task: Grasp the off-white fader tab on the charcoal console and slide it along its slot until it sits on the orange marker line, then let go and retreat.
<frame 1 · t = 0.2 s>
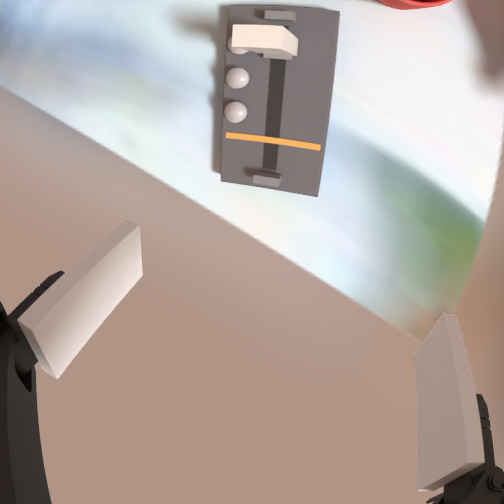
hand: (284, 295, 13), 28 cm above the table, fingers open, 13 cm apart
console: (279, 96, 33), on the table
fader tab: (269, 41, 24), point 7 cm above the table, slide at -6.0 cm
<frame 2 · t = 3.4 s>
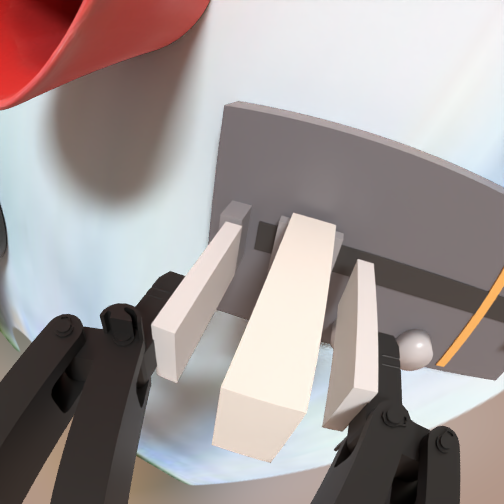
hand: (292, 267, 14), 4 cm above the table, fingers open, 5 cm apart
console: (410, 260, 16), on the table
fader tab: (286, 318, 12), point 7 cm above the table, slide at -6.0 cm
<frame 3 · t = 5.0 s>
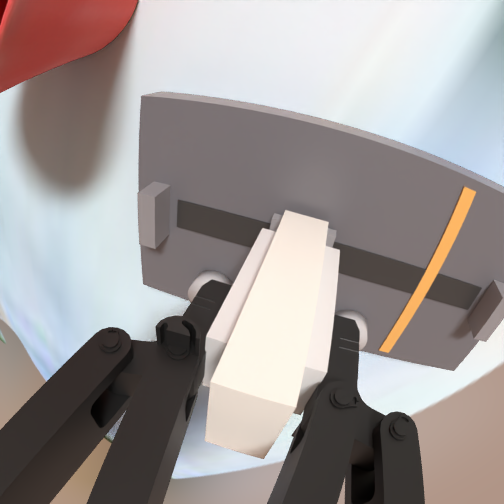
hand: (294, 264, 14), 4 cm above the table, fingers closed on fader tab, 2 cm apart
flower pot: (94, 1, 13), on the table
console: (338, 237, 17), on the table
fader tab: (278, 314, 12), point 7 cm above the table, slide at -2.0 cm, touching gripper
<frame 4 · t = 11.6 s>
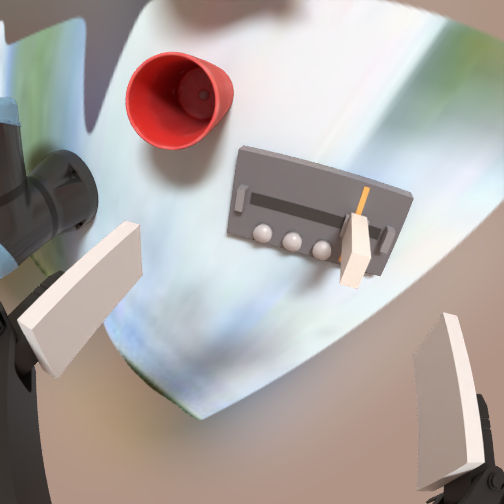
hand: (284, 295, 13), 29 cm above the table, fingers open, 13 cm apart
flower pot: (206, 93, 37), on the table
console: (317, 208, 41), on the table
fader tab: (354, 246, 34), point 7 cm above the table, slide at 5.1 cm
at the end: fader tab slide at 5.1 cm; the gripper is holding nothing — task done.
